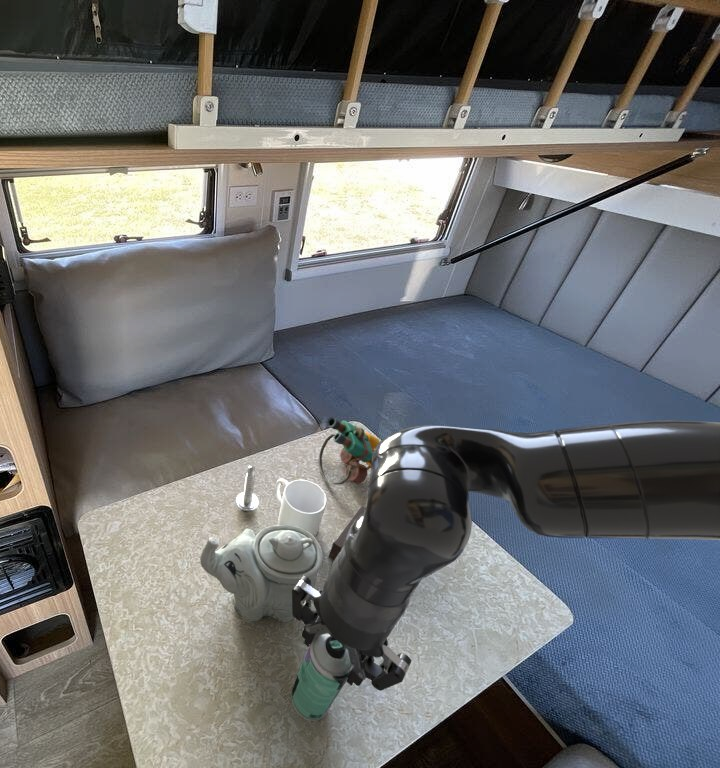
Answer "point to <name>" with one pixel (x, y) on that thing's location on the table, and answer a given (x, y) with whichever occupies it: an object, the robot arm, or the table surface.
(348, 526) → the brown wooden square frame
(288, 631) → the table surface
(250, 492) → the screw
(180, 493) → the table surface
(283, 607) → the teapot
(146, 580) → the table surface
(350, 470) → the binoculars
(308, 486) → the cup
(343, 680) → the spray can
